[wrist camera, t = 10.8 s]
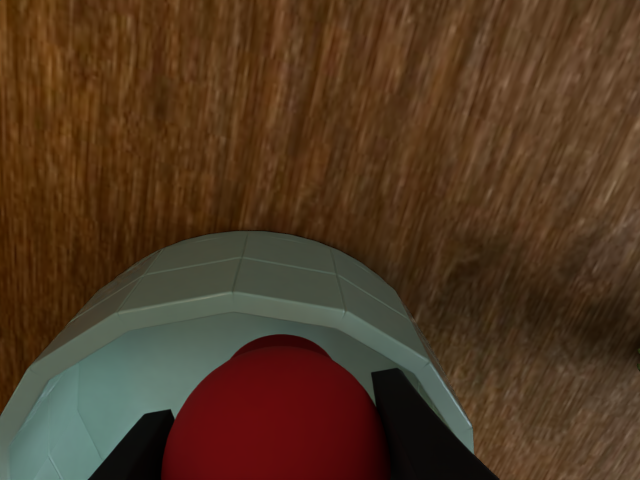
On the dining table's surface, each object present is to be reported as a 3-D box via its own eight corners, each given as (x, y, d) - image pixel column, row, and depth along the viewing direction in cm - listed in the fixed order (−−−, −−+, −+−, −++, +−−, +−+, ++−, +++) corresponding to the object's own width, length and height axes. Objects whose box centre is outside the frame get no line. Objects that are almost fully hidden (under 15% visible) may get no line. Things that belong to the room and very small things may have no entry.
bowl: (139, 540, 17) (95, 674, 13) (5, 270, 12) (-120, 355, 8) (437, 486, 17) (480, 604, 13) (412, 196, 12) (466, 248, 8)
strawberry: (216, 461, 12) (159, 765, 7) (168, 323, 10) (38, 585, 5) (377, 431, 12) (447, 712, 7) (356, 289, 10) (426, 513, 5)
